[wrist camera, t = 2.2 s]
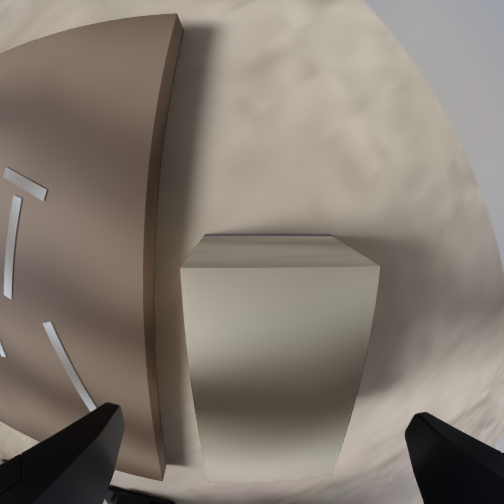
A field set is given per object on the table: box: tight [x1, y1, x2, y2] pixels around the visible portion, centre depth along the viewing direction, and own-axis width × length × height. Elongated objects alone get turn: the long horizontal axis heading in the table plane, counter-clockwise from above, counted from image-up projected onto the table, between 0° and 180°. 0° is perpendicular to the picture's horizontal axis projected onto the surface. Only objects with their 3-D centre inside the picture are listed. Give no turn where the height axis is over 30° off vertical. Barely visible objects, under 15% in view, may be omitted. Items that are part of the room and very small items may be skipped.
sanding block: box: [180, 234, 380, 483], centre depth 10 cm, size 9×5×5 cm, turn 0°
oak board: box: [0, 14, 183, 481], centre depth 11 cm, size 24×14×2 cm, turn 174°
